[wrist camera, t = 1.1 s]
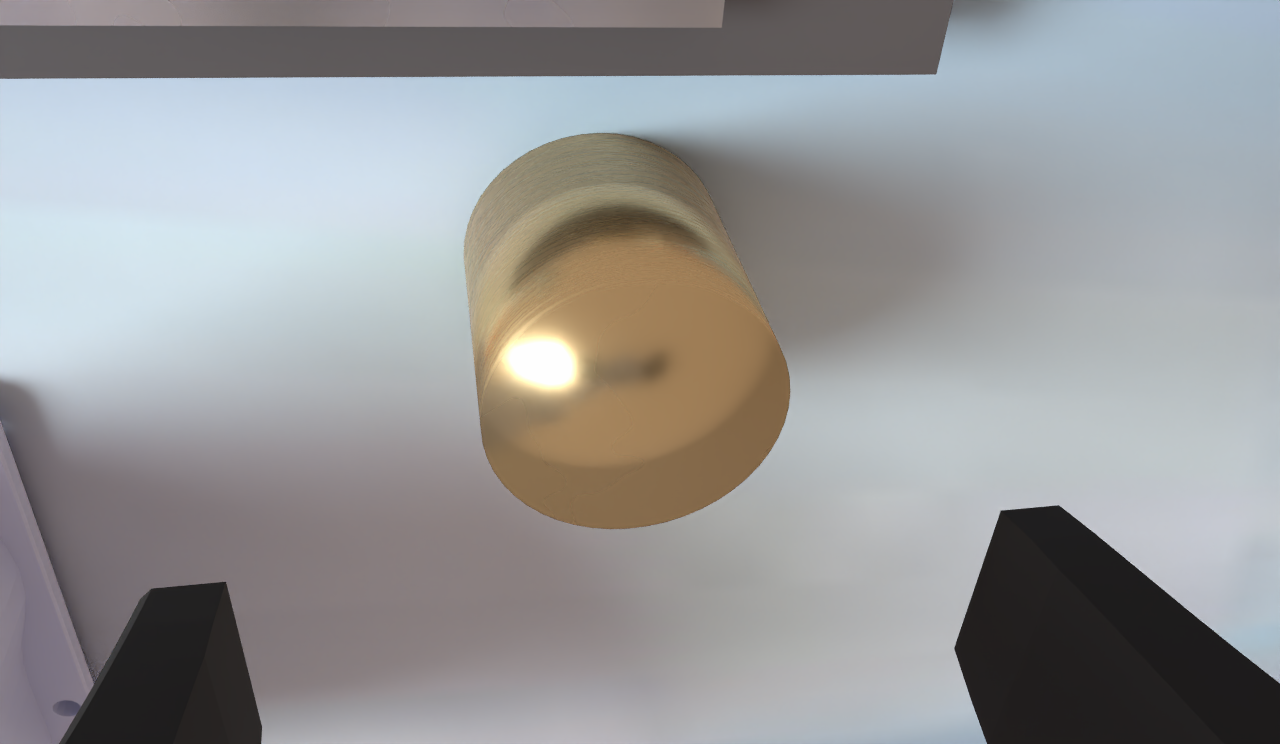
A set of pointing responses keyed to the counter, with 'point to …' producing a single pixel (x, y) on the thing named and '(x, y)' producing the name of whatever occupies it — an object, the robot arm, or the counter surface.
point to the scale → (504, 47)
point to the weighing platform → (367, 13)
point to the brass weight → (616, 337)
